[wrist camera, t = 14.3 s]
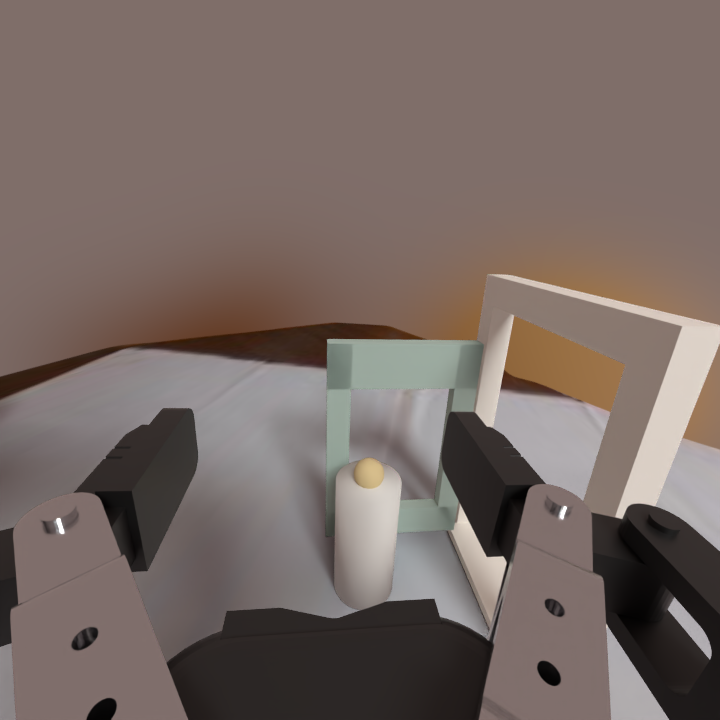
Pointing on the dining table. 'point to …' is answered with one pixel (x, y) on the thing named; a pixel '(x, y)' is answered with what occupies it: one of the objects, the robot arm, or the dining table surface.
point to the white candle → (365, 532)
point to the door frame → (631, 406)
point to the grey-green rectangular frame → (398, 371)
